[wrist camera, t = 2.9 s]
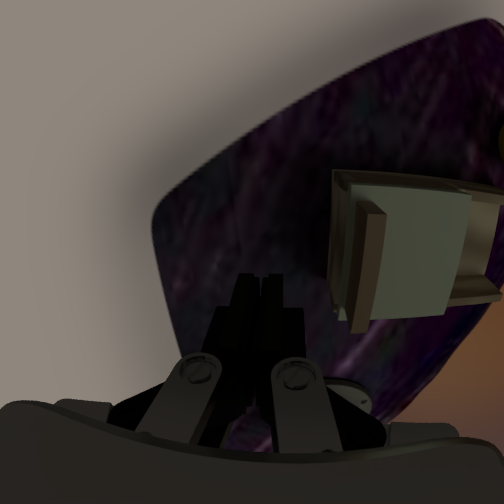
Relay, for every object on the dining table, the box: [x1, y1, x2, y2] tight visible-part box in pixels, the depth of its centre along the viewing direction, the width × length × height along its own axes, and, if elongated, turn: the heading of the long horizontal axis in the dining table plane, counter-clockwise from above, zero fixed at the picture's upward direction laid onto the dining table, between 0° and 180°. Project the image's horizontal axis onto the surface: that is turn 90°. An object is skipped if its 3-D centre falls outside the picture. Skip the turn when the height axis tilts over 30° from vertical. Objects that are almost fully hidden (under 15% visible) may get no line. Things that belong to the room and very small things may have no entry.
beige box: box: [326, 169, 504, 312], centre depth 18 cm, size 9×16×4 cm, turn 93°
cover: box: [337, 182, 472, 333], centre depth 15 cm, size 9×8×3 cm
